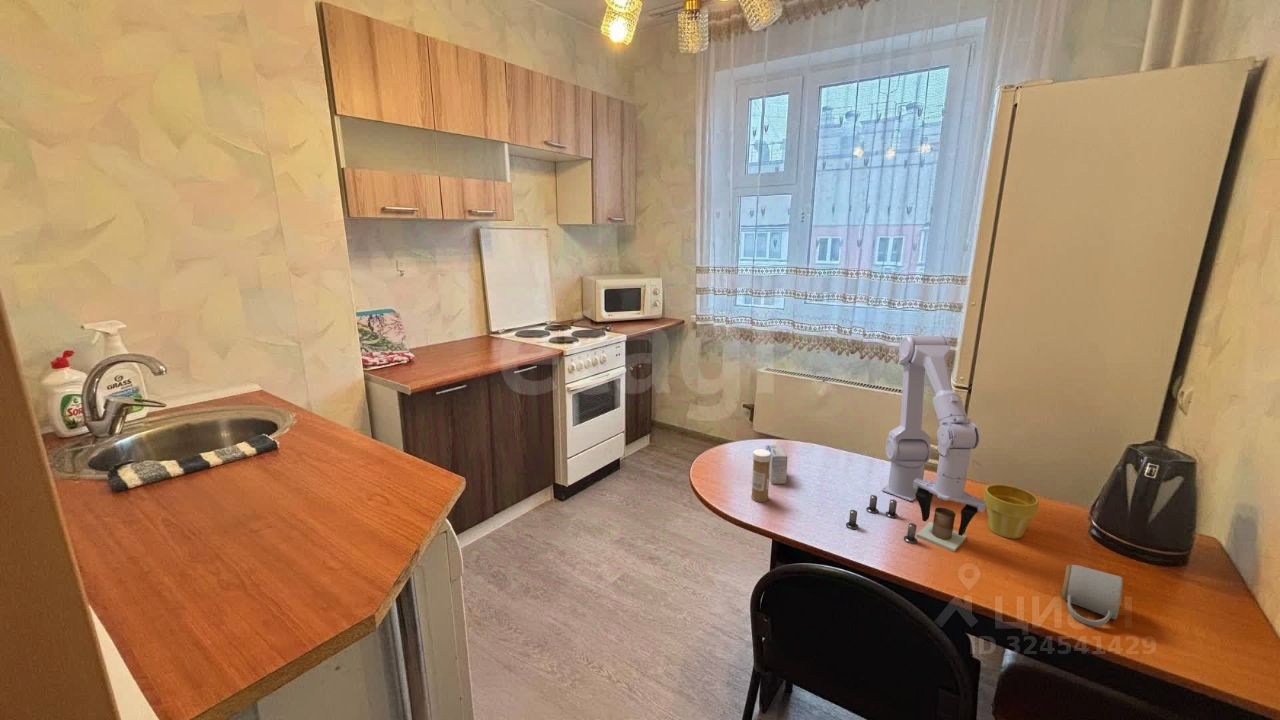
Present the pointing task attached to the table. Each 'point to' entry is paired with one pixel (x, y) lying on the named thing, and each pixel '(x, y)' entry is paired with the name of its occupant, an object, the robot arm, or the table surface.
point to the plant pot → (1009, 509)
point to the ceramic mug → (1092, 593)
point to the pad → (948, 544)
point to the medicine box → (777, 464)
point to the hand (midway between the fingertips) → (943, 526)
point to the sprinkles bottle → (760, 475)
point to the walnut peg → (943, 523)
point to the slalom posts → (891, 514)
